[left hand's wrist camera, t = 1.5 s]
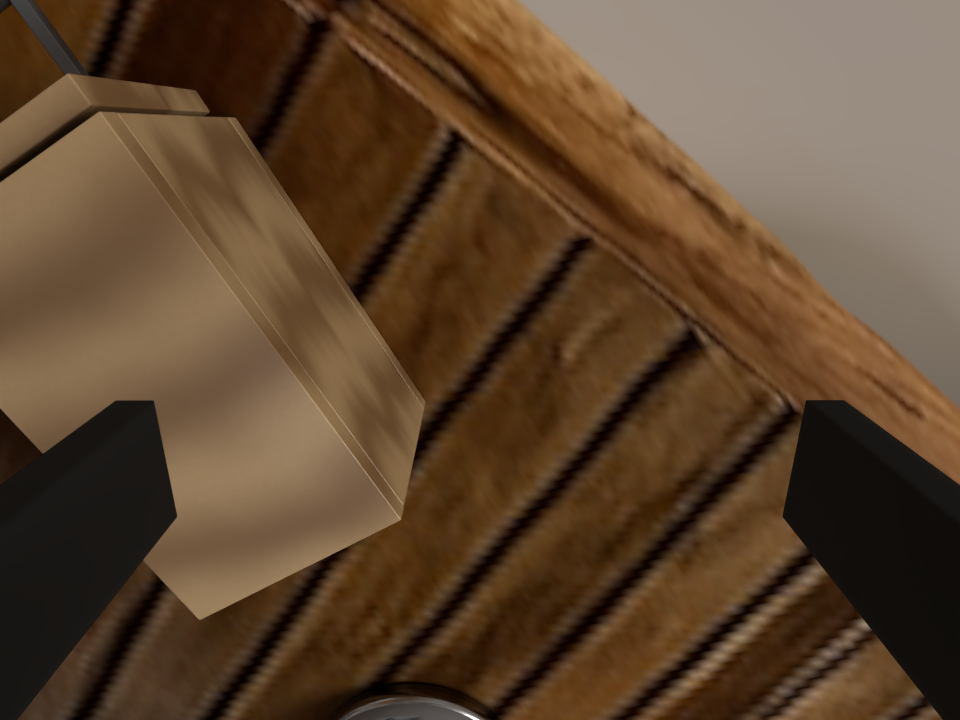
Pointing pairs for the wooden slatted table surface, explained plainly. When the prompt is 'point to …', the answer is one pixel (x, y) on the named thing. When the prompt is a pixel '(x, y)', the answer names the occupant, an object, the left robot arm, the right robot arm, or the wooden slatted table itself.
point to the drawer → (76, 98)
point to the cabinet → (202, 346)
